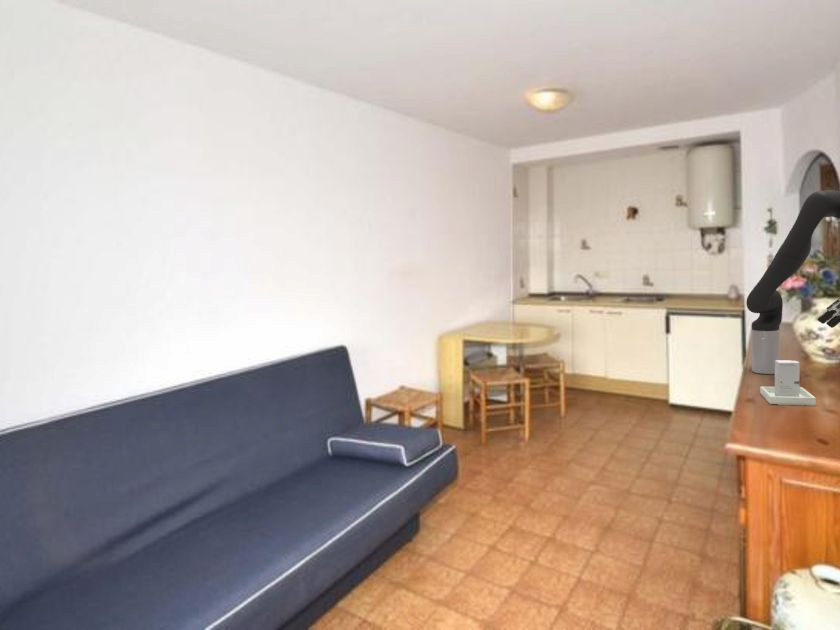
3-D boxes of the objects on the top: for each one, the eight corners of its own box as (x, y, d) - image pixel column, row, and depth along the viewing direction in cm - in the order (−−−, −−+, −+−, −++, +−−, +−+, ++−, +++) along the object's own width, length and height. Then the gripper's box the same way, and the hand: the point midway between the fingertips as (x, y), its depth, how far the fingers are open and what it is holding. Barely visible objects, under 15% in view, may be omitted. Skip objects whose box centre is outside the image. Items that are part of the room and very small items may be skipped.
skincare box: (778, 398, 170) (777, 362, 169) (774, 395, 174) (773, 359, 173) (800, 399, 168) (800, 362, 167) (795, 395, 172) (795, 359, 171)
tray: (760, 393, 179) (760, 386, 179) (801, 394, 175) (801, 387, 175) (770, 404, 166) (770, 396, 166) (815, 405, 162) (815, 398, 162)
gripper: (850, 277, 169) (807, 313, 175) (869, 280, 156) (821, 318, 162) (870, 293, 168) (826, 328, 174) (890, 297, 155) (842, 335, 161)
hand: (824, 323), depth 168 cm, fingers open, 8 cm apart
